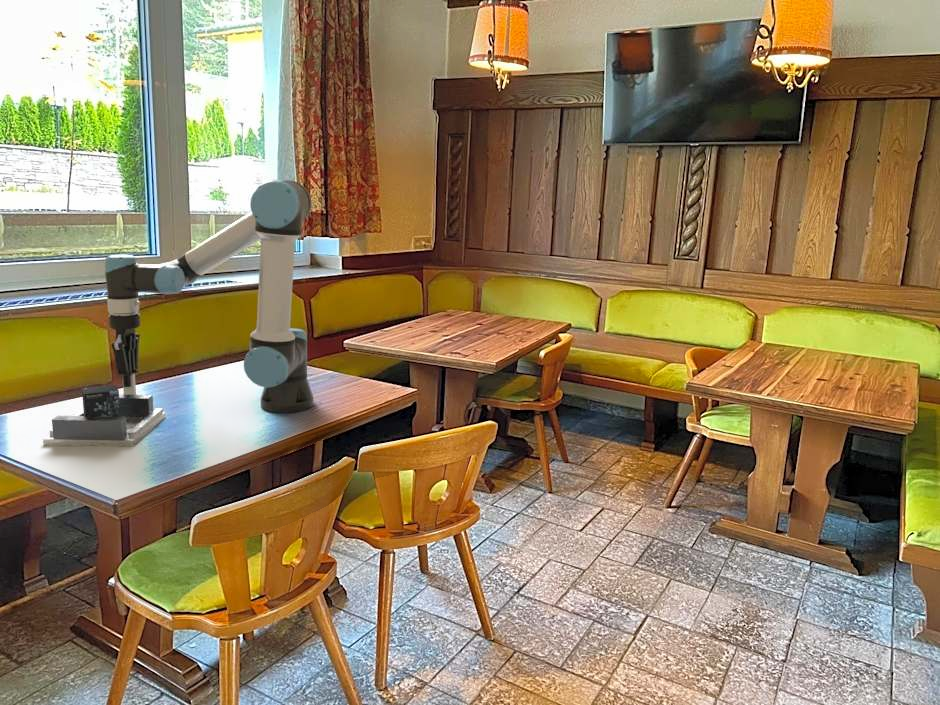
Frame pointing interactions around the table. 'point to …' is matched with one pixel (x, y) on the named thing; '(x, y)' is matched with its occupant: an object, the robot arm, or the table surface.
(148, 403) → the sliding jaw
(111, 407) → the box
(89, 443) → the beige square tray
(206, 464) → the table surface
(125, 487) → the table surface
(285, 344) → the robot arm
